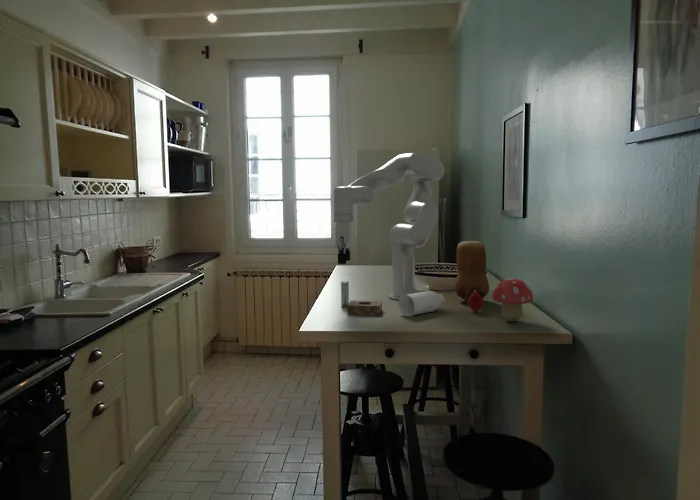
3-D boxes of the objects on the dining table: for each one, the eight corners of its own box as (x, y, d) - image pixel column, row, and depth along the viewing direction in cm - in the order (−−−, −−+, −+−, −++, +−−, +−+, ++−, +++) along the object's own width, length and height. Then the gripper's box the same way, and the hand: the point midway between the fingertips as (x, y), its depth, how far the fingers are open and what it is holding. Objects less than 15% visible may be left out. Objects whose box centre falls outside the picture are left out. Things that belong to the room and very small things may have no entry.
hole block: (381, 310, 199) (381, 301, 199) (379, 315, 191) (379, 306, 190) (350, 309, 201) (350, 300, 201) (347, 314, 192) (347, 305, 192)
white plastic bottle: (449, 311, 197) (449, 290, 196) (413, 318, 186) (413, 296, 185) (433, 307, 203) (433, 287, 203) (398, 314, 192) (398, 293, 191)
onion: (484, 310, 196) (484, 289, 196) (482, 314, 191) (483, 292, 190) (468, 309, 198) (468, 289, 197) (466, 313, 193) (466, 291, 192)
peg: (349, 306, 207) (349, 281, 206) (348, 307, 204) (348, 282, 203) (342, 306, 208) (341, 281, 207) (340, 307, 205) (340, 282, 204)
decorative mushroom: (504, 315, 189) (505, 274, 187) (539, 321, 179) (540, 278, 177) (483, 321, 180) (484, 278, 178) (519, 328, 170) (520, 283, 168)
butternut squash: (471, 296, 223) (472, 238, 220) (495, 302, 212) (496, 240, 209) (447, 300, 215) (447, 240, 212) (471, 306, 204) (472, 242, 201)
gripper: (338, 217, 211) (338, 259, 213) (330, 219, 194) (330, 265, 196) (356, 217, 210) (356, 259, 212) (349, 219, 193) (350, 265, 195)
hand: (344, 262), depth 204 cm, fingers open, 9 cm apart
